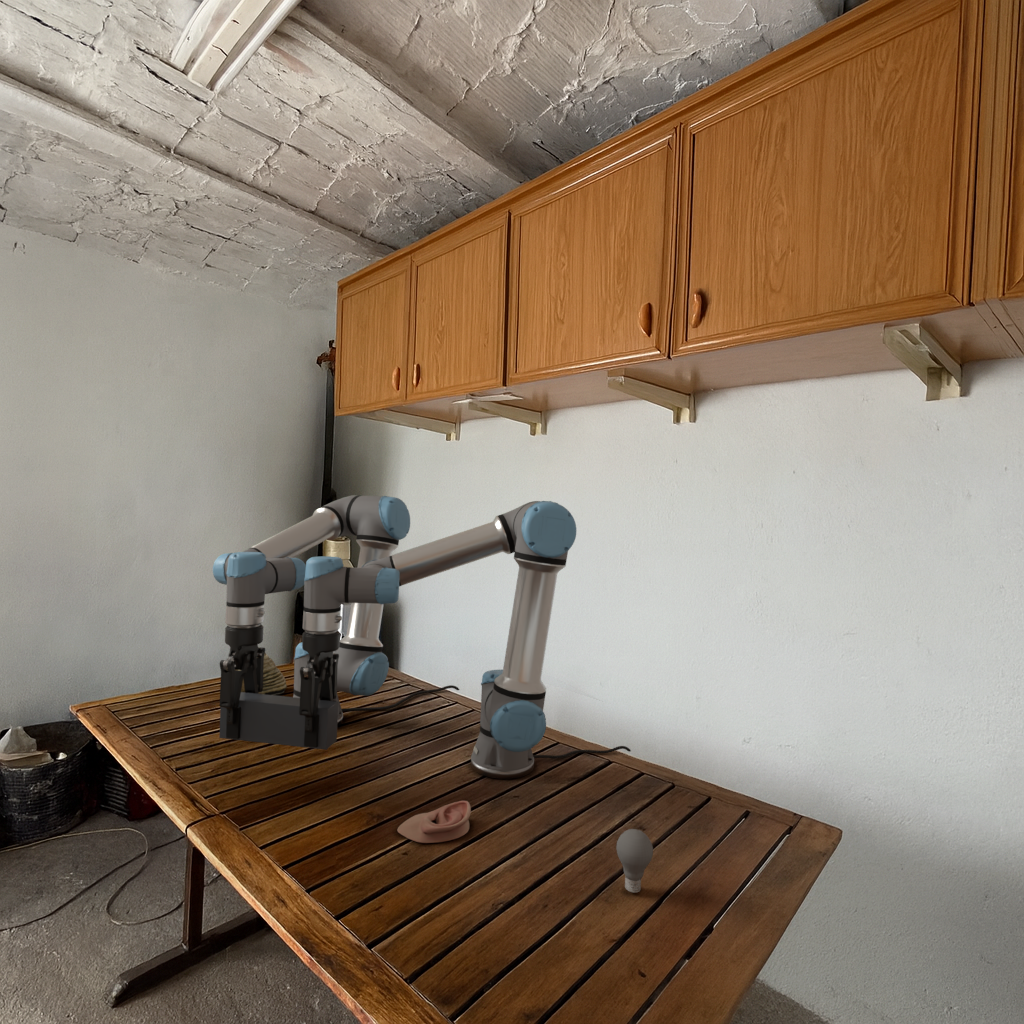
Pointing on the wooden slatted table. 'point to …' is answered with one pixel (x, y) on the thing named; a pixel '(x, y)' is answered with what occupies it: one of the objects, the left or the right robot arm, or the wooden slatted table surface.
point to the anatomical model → (438, 824)
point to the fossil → (271, 678)
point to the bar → (281, 720)
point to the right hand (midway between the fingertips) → (317, 740)
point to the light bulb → (634, 857)
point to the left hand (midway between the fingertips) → (240, 732)
